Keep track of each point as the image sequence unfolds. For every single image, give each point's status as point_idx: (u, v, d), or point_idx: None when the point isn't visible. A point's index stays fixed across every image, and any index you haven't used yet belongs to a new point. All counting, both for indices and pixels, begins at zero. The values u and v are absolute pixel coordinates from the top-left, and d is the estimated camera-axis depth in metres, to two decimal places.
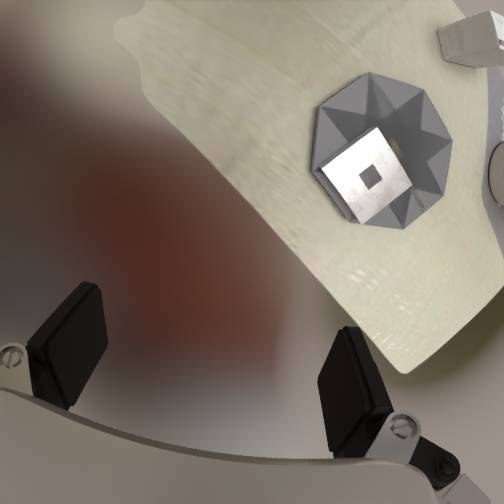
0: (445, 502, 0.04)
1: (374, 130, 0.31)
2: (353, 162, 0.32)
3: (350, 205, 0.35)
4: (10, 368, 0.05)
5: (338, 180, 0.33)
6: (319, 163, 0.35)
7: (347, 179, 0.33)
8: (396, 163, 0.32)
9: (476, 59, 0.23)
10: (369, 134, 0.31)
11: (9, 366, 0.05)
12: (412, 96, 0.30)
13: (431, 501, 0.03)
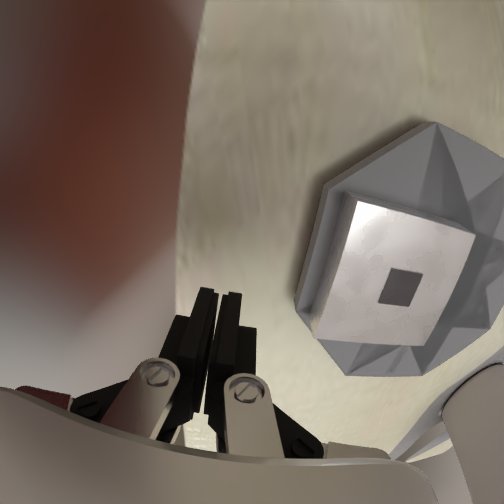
0: None
1: (469, 235, 0.14)
2: (405, 245, 0.15)
3: (330, 299, 0.16)
4: (149, 385, 0.06)
5: (359, 245, 0.15)
6: (352, 188, 0.16)
7: (371, 257, 0.15)
8: (441, 304, 0.16)
9: None
10: (461, 232, 0.14)
11: (149, 382, 0.07)
12: None
13: (431, 501, 0.03)
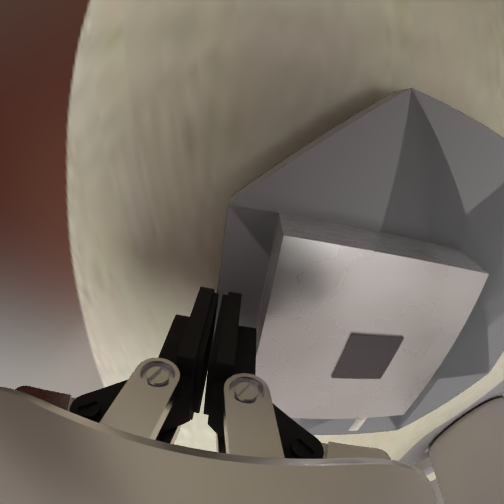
0: None
1: (480, 275, 0.09)
2: (373, 300, 0.09)
3: (256, 373, 0.11)
4: (149, 385, 0.06)
5: (292, 304, 0.10)
6: (266, 201, 0.11)
7: (316, 321, 0.10)
8: (431, 368, 0.11)
9: None
10: (467, 273, 0.09)
11: (149, 382, 0.07)
12: None
13: (431, 501, 0.03)
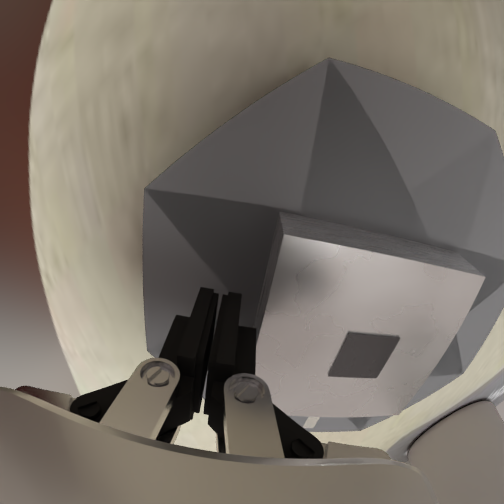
0: None
1: (476, 277, 0.09)
2: (371, 300, 0.10)
3: None
4: (149, 385, 0.06)
5: (290, 302, 0.10)
6: (177, 183, 0.11)
7: (314, 320, 0.10)
8: (426, 369, 0.11)
9: None
10: (464, 275, 0.09)
11: (149, 382, 0.07)
12: (503, 257, 0.11)
13: (431, 501, 0.03)
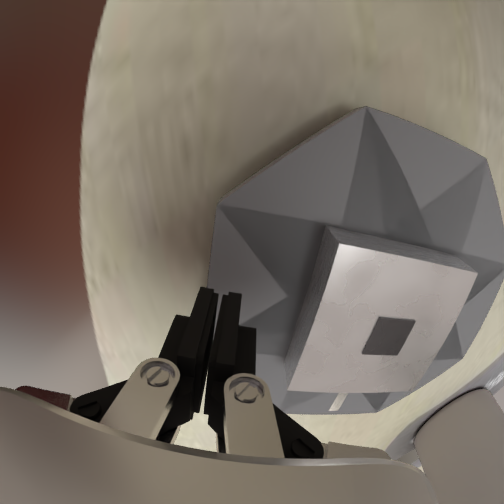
0: None
1: (471, 273, 0.12)
2: (396, 291, 0.13)
3: (306, 352, 0.14)
4: (149, 385, 0.06)
5: (340, 294, 0.13)
6: (246, 202, 0.14)
7: (355, 307, 0.13)
8: (435, 348, 0.14)
9: None
10: (461, 272, 0.12)
11: (149, 382, 0.07)
12: (492, 258, 0.15)
13: (431, 501, 0.03)
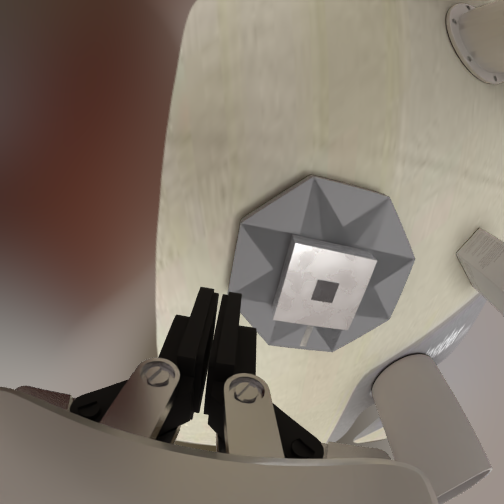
0: None
1: (372, 260, 0.28)
2: (325, 266, 0.28)
3: (281, 296, 0.30)
4: (149, 385, 0.06)
5: (296, 266, 0.28)
6: (254, 222, 0.29)
7: (304, 273, 0.29)
8: (356, 302, 0.30)
9: (483, 284, 0.28)
10: (365, 259, 0.28)
11: (149, 382, 0.07)
12: (399, 254, 0.30)
13: (431, 501, 0.03)
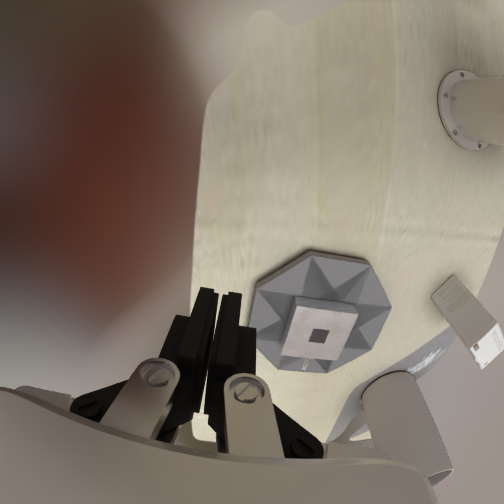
0: None
1: (354, 314, 0.38)
2: (319, 320, 0.38)
3: (287, 339, 0.40)
4: (149, 385, 0.06)
5: (297, 320, 0.38)
6: (267, 288, 0.39)
7: (303, 325, 0.38)
8: (342, 342, 0.40)
9: (450, 324, 0.37)
10: (348, 314, 0.38)
11: (149, 382, 0.07)
12: (378, 304, 0.40)
13: (431, 501, 0.03)
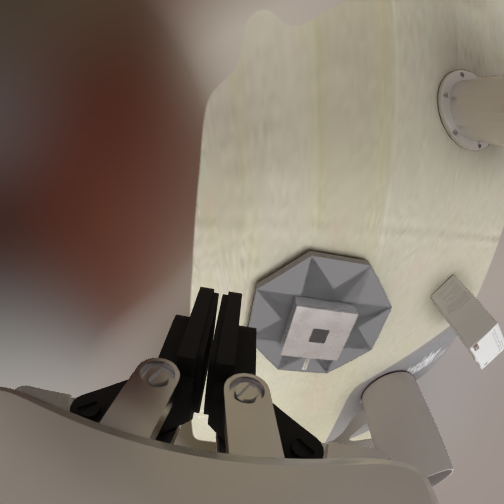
0: None
1: (354, 314, 0.38)
2: (319, 320, 0.38)
3: (287, 340, 0.40)
4: (149, 385, 0.06)
5: (298, 320, 0.38)
6: (267, 288, 0.39)
7: (303, 325, 0.38)
8: (342, 342, 0.40)
9: (450, 324, 0.37)
10: (348, 314, 0.38)
11: (149, 382, 0.07)
12: (378, 304, 0.40)
13: (431, 501, 0.03)
